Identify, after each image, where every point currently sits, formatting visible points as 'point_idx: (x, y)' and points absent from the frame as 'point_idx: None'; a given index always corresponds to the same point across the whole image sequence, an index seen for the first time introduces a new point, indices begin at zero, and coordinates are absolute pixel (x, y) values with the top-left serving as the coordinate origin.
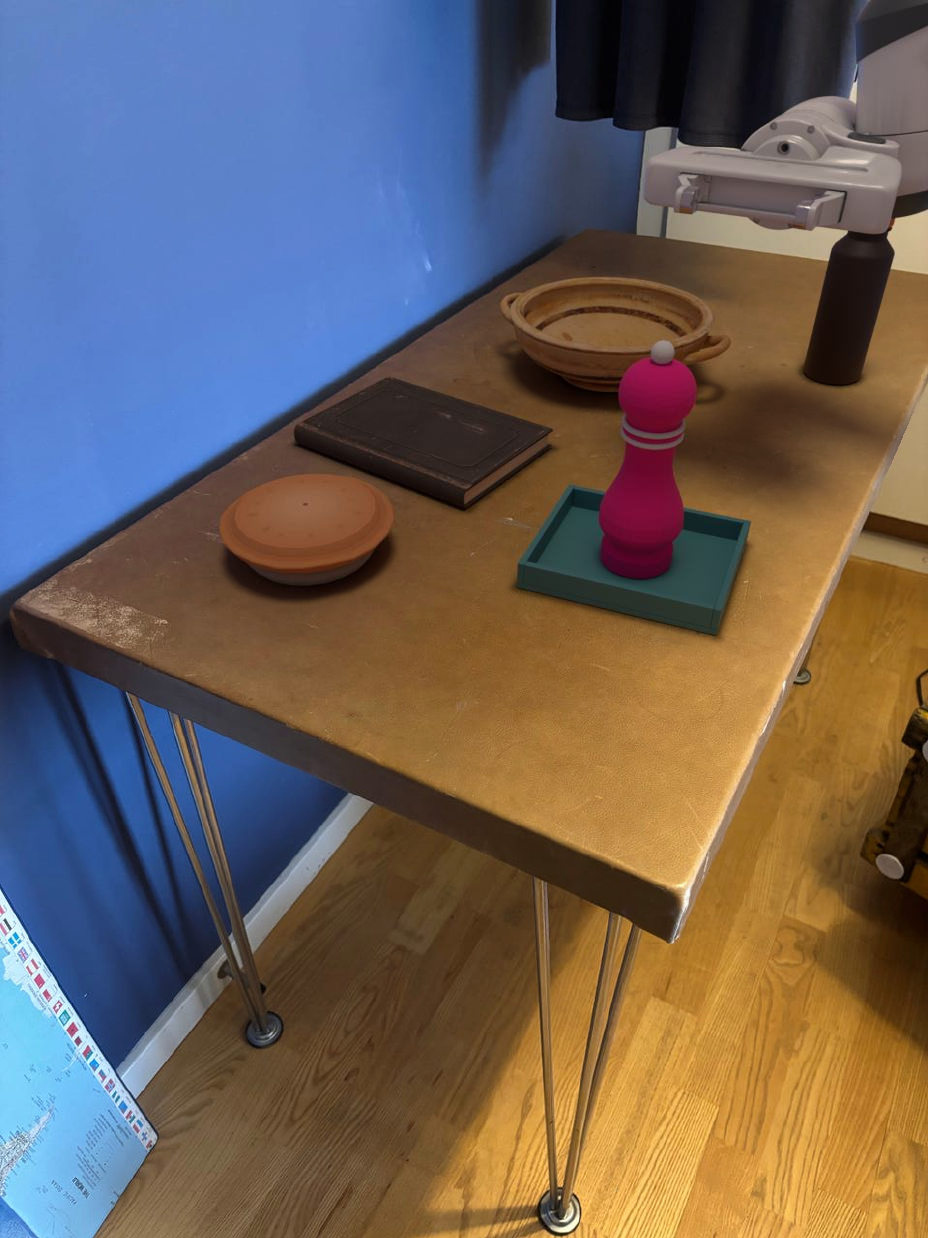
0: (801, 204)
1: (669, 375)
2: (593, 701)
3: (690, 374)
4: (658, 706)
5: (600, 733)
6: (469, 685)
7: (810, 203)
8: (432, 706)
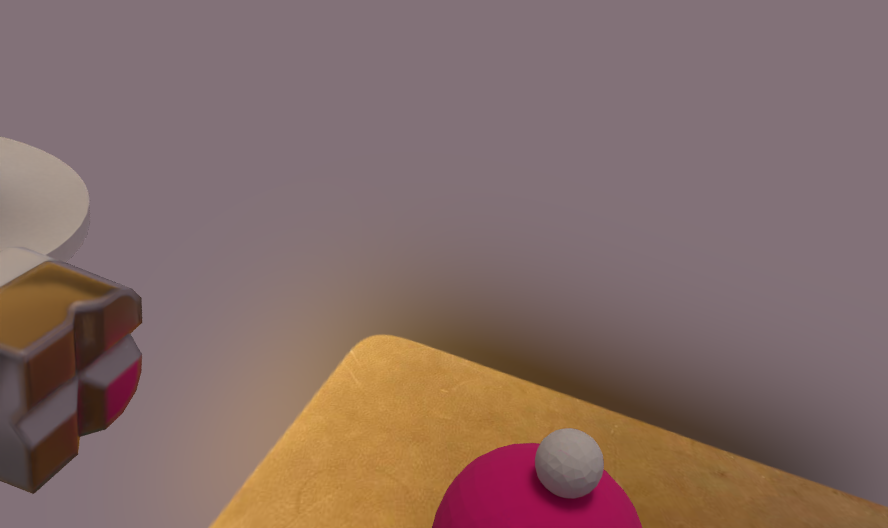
0: (99, 283)
1: (526, 446)
2: None
3: (470, 487)
4: (383, 486)
5: (451, 452)
6: None
7: (21, 285)
8: (646, 485)
